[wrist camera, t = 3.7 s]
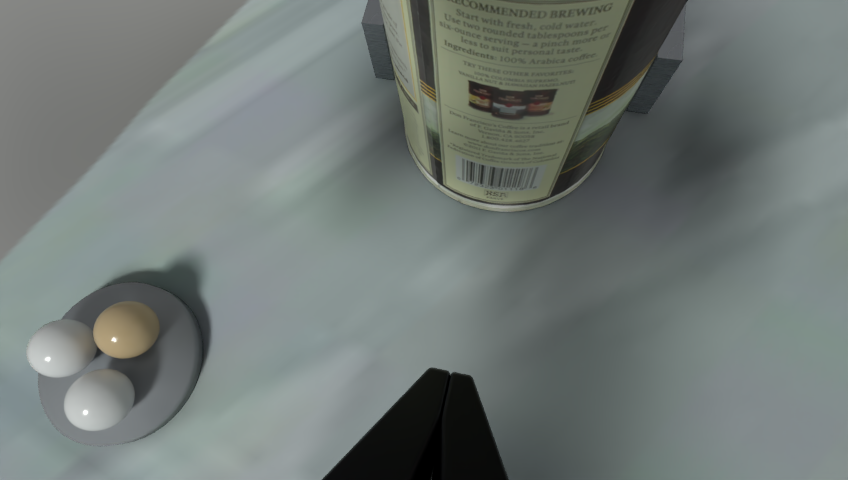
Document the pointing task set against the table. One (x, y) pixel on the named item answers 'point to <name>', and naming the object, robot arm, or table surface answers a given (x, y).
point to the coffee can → (518, 89)
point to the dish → (117, 364)
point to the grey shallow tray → (640, 102)
